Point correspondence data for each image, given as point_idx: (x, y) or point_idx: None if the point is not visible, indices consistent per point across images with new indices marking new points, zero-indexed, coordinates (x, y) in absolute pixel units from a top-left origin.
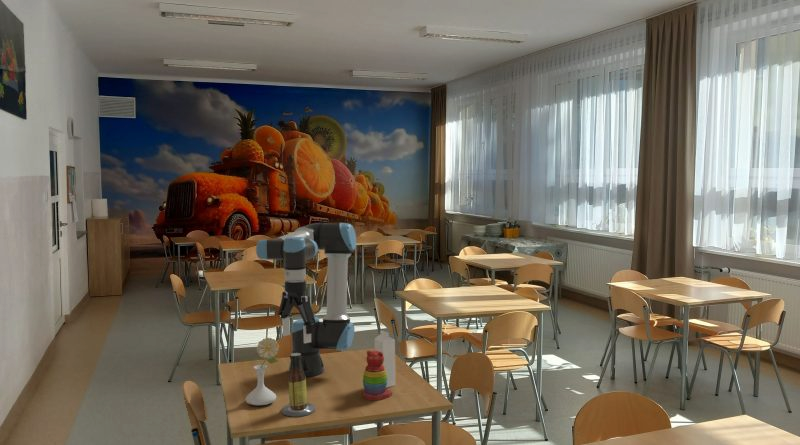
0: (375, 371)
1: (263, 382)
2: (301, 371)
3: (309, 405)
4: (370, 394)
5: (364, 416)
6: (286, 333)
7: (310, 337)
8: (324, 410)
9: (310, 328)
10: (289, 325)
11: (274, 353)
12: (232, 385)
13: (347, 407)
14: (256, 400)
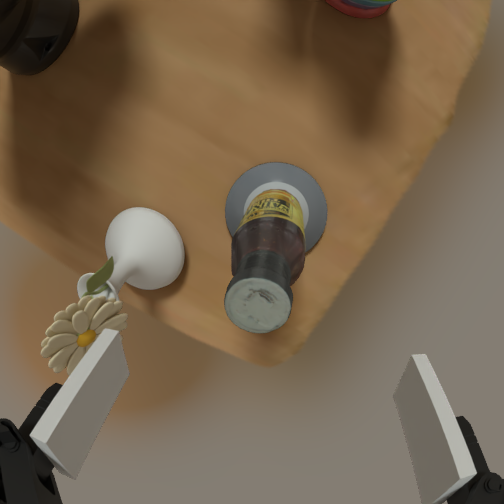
0: None
1: (128, 265)
2: (299, 260)
3: (281, 174)
4: (372, 9)
5: (448, 124)
6: (118, 369)
7: (434, 384)
8: (335, 159)
9: (475, 454)
10: (83, 389)
11: (115, 309)
12: (18, 225)
13: (368, 98)
14: (166, 283)
